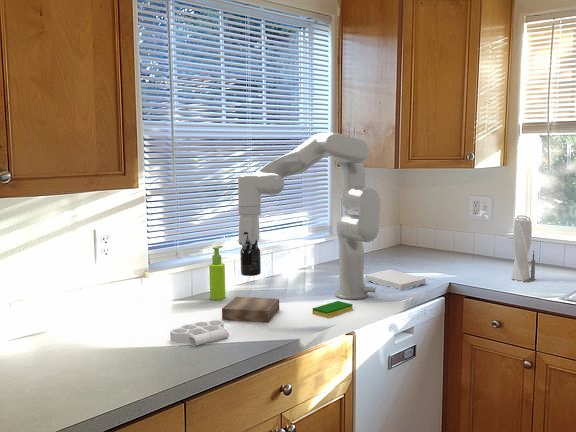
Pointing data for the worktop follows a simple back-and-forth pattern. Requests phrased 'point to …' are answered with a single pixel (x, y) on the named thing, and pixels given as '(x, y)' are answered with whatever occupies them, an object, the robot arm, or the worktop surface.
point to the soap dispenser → (217, 276)
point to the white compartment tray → (199, 332)
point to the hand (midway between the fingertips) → (250, 262)
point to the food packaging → (395, 279)
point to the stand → (250, 309)
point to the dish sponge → (332, 309)
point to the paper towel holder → (522, 250)
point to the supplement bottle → (256, 262)
